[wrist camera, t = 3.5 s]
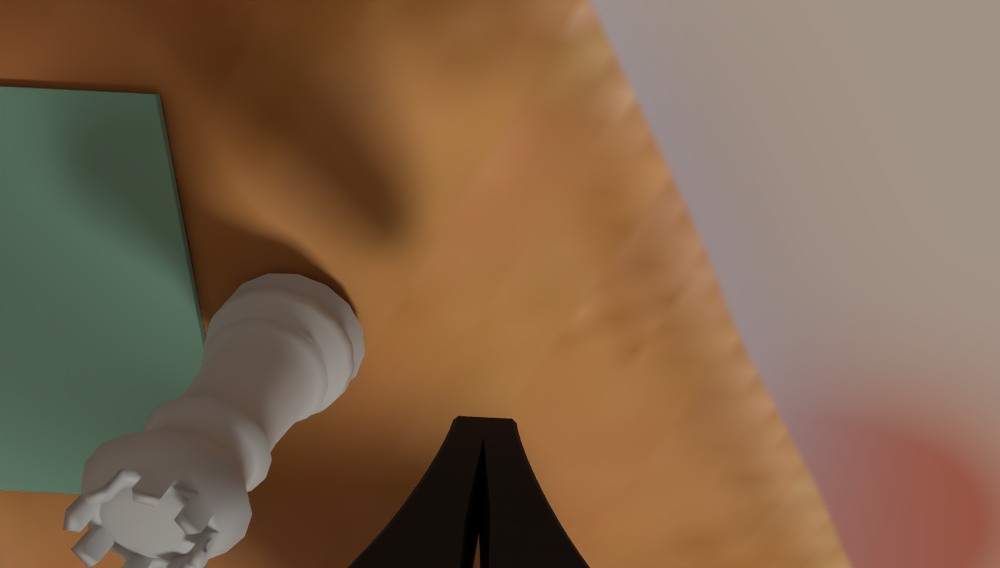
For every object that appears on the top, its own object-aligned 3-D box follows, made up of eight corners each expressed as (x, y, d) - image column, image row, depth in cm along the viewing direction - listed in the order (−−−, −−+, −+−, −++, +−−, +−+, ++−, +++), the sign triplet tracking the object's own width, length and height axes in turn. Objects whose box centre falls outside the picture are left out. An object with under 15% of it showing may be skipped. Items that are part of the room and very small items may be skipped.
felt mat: (235, 497, 20) (232, 501, 19) (-92, 481, 20) (-98, 485, 19) (159, 93, 14) (154, 94, 14) (-294, 70, 14) (-304, 71, 14)
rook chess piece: (384, 380, 18) (294, 612, 10) (256, 400, 18) (80, 636, 11) (345, 255, 16) (204, 422, 9) (205, 279, 16) (-47, 460, 9)
